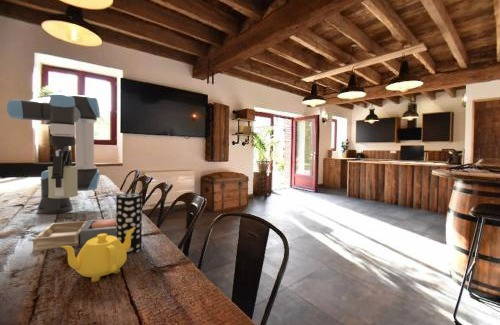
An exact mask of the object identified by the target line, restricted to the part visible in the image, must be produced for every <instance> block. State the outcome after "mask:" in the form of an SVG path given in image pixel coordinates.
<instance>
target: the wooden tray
mask: <svg viewBox="0 0 500 325" xmlns="http://www.w3.org/2000/svg"><path fill="white" fill-rule="evenodd" d="M87 221H88V220H82V221H81V220H80V221H68V222H57V223H56V222H55V223H54V222H53V223H50V224H49V225H47V227H45V229H43V230H42V231H41V232H40V233H38V234H37V235H36V236H35V237H34V238H33V239H32V251H39V250H40V251H41V250H48V249H59V248H62V247H61V246H71V247H77V246H79V245H80V231H81V230H82V228H83V227H84V225H85V224H86V223H87Z"/></svg>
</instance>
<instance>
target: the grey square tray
mask: <svg viewBox="0 0 500 325" xmlns="http://www.w3.org/2000/svg"><path fill="white" fill-rule="evenodd" d="M100 220H116V217H114V218H103V219H90V220H86V221H87V223H86V224H85V225H84V227H83V228H82V230H81V231H80V243H79V245H84V244H85V243H86V242H87V241H88V240H90V239H92V238H95V237H97V235H99V234H103V233H105V234H107V235H111V236H115V237H116V226H115V227H104V228H93V229H92V223H94V222H96V221H100Z"/></svg>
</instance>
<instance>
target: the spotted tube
mask: <svg viewBox="0 0 500 325" xmlns="http://www.w3.org/2000/svg"><path fill="white" fill-rule="evenodd" d="M115 199H116V200H115V203H116V204H115V212H116V213H115V218H116V237H117V238H118V239H119V240H120V242H121V243H122V244H123V243H124V241H125V238H126V234H127V232H128V231H129V230H130V229H132V228H134V227H136V228H135V229H134V230H133V232H132V234H131V246H130V249H129V250H128V252H127V253H126V254H127V255H132V254H135V253H138V252H140V251H141V250H142V248H143V247H142V246H143V245H142V244H143V242H142V241H143V240H142V239H143V238H142V237H143V194H142V193H137V192H134V193H133V192H129V193H122V194H121V193H120V194H117V195H116V198H115Z"/></svg>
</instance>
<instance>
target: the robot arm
mask: <svg viewBox="0 0 500 325" xmlns="http://www.w3.org/2000/svg"><path fill="white" fill-rule="evenodd" d="M99 106H100V105H99V102H98V99H97V98H96V97H95V96H90V95H84V94H74V93H66V92H65V93H63V92H59V93H57V92H56V93H49V94H44V95H42V96H40V97H39V98H34V99H26V100H25V99H20V98H19V99H18V98H17V99H13V98H12V99H9V100H8V101H7V103H6V112H7V114H8V117H10V118H11V119H16V120H21V121H23V120H25V121H42V122H43V121H44V122H49V124H50V125H49V126H48V129H49V132H50V134H51V136H50V137H49V144H50V145H49V146H54V147H56V149H55V150H53V151H52V156H53V158H52V159H53V160H52V166H53V170H52V177H51V179H54V189H55V196H64V179H63V174H64V166H73V161H72V160H73V159H72V151H73V150H72V149H70V147H75V165H74V166H77V167H78V169H77V189H78V192H80V191H84V192H86V191H87V192H88V191H95V190H97V189H98V187H99V183H100V177H101V171H100V170H99V169H98V167H97V166H96V165H95V137H94V136H95V130H94V128H95V127H94V126H95V123H96V122H97V121H98V120H97V119H99V118H100V117H101V114H100V113H101V112H100V107H99ZM74 136H75V137H74ZM40 176H41V177H40V189H41V190H40V192H41V194H40V201H39V203H38V205H37V209H36V210H37V211H36V213H37V214H41V215H49V214H50V215H51V214H61V213H65V212H69V211H71V210H73V202H72V201H71V197H69V198H49V197H48V194H49V182H48V169H47V170H44V171H41V175H40Z"/></svg>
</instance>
